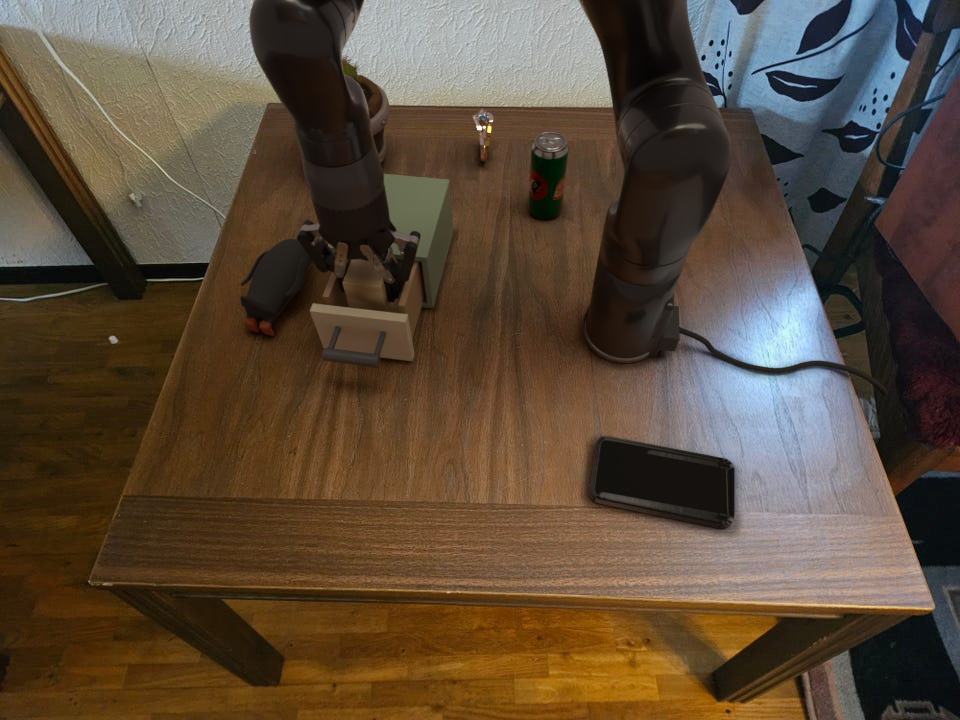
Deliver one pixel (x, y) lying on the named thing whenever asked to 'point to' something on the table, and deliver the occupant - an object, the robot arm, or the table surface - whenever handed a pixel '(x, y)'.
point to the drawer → (369, 324)
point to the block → (365, 287)
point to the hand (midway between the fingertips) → (372, 294)
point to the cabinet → (422, 223)
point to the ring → (483, 131)
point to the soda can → (547, 175)
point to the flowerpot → (372, 105)
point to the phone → (663, 482)
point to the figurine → (274, 283)
